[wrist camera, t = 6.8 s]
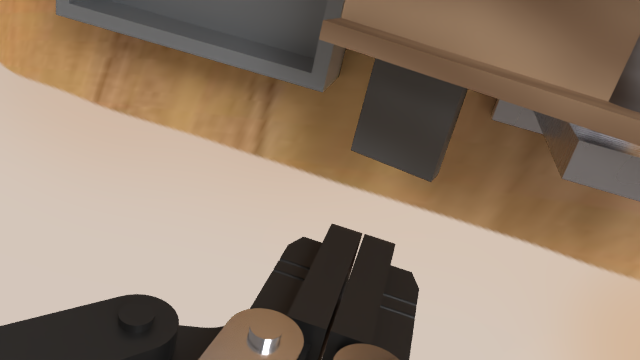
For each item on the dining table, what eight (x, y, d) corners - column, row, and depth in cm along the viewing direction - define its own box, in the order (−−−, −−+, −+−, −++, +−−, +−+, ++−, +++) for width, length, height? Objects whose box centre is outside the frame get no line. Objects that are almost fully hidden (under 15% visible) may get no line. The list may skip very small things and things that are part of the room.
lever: (401, -118, 24) (358, -140, 20) (1136, 39, 17) (1318, 58, 12) (341, 121, 29) (295, 144, 25) (888, 330, 21) (957, 415, 17)
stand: (589, -148, 25) (659, -204, 16) (748, -114, 24) (917, -152, 15) (491, 114, 31) (501, 183, 22) (618, 151, 30) (684, 238, 21)
